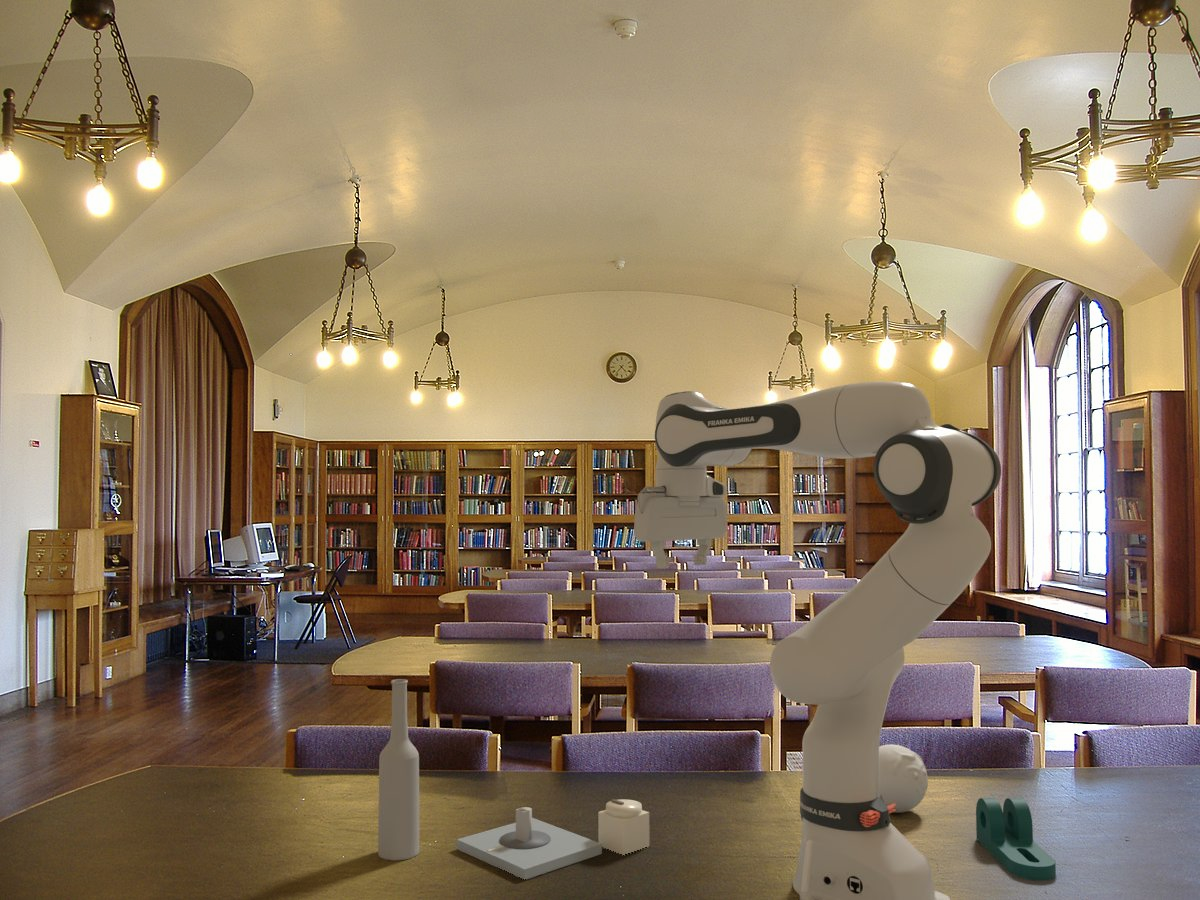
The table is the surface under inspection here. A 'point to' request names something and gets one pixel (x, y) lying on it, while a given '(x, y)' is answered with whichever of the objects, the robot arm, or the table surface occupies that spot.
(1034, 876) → the bracket
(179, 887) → the table surface
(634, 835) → the knob
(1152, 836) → the table surface
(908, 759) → the decorative ball
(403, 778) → the bottle
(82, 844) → the table surface
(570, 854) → the panel
